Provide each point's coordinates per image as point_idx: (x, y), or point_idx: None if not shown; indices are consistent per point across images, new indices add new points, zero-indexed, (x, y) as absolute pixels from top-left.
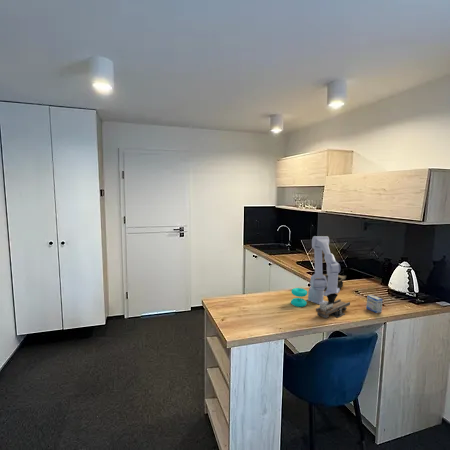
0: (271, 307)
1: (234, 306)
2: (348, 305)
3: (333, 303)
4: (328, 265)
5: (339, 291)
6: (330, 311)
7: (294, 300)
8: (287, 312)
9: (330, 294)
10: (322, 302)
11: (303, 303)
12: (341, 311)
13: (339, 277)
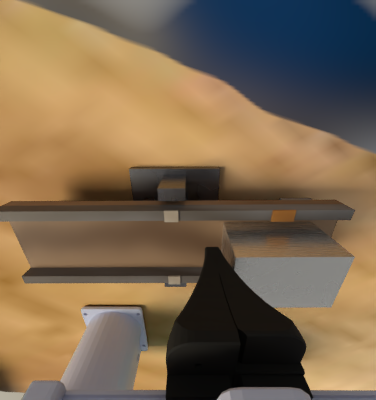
0: (325, 367)
1: None
2: (30, 202)
3: (208, 256)
4: None
5: (38, 384)
6: (294, 207)
7: None
8: (336, 324)
9: (306, 387)
10: (292, 306)
11: None
12: (163, 181)
13: None
